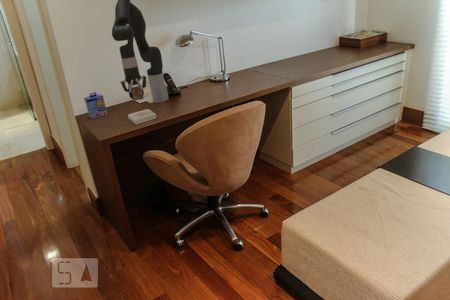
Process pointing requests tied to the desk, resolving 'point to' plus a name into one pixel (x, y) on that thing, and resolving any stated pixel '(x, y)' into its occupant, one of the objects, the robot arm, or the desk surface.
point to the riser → (142, 116)
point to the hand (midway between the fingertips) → (137, 97)
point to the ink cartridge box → (95, 105)
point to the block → (137, 93)
